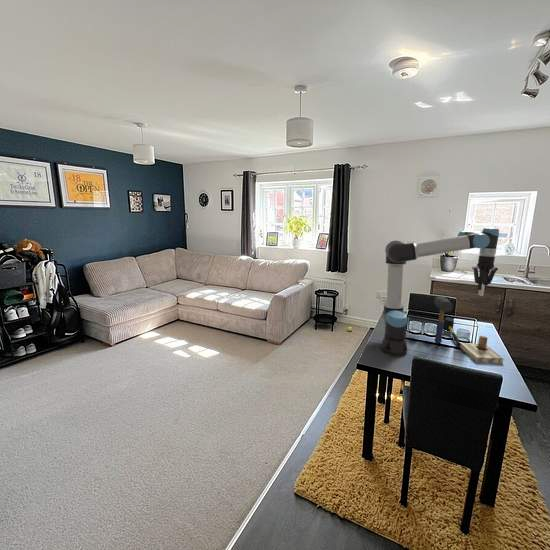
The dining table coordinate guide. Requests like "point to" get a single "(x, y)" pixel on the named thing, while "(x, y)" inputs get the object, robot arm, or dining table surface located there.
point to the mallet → (450, 329)
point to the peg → (482, 343)
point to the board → (481, 353)
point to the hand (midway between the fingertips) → (480, 295)
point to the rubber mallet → (441, 315)
